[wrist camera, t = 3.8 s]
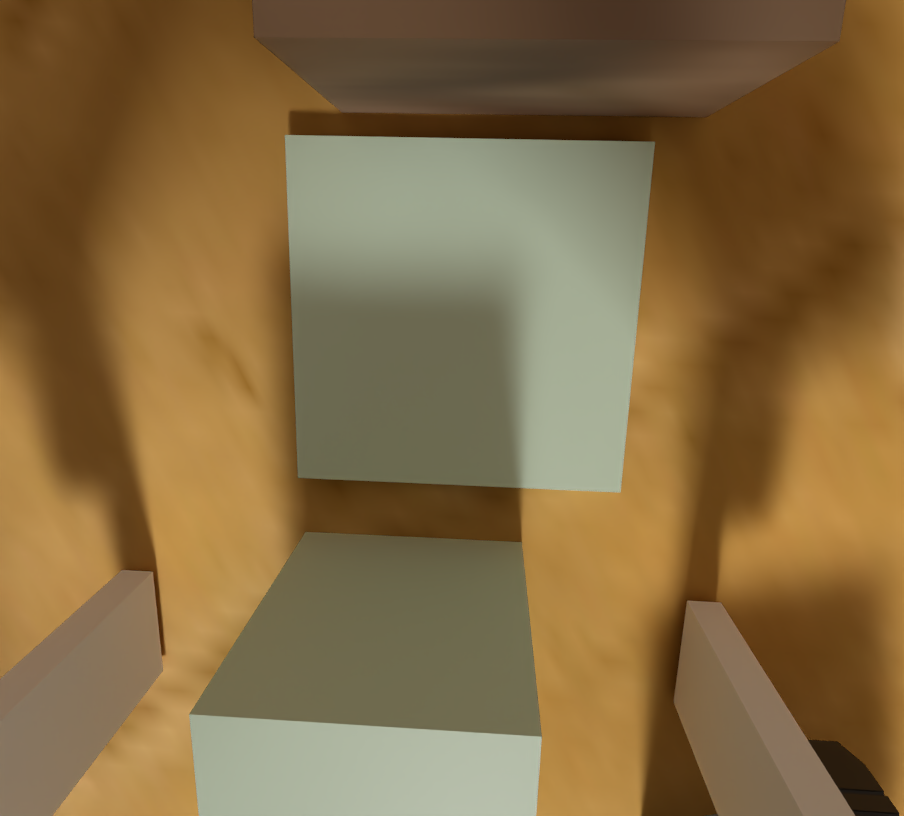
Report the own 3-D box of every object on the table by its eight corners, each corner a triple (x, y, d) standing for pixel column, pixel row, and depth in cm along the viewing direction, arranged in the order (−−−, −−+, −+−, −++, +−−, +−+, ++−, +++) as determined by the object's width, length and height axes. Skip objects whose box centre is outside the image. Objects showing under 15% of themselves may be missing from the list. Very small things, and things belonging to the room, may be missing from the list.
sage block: (313, 712, 16) (213, 975, 10) (306, 530, 15) (189, 714, 9) (511, 724, 16) (523, 1001, 10) (521, 541, 15) (542, 736, 9)
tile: (302, 471, 14) (297, 477, 14) (291, 138, 13) (285, 135, 12) (617, 485, 14) (620, 492, 14) (649, 144, 12) (655, 141, 12)
